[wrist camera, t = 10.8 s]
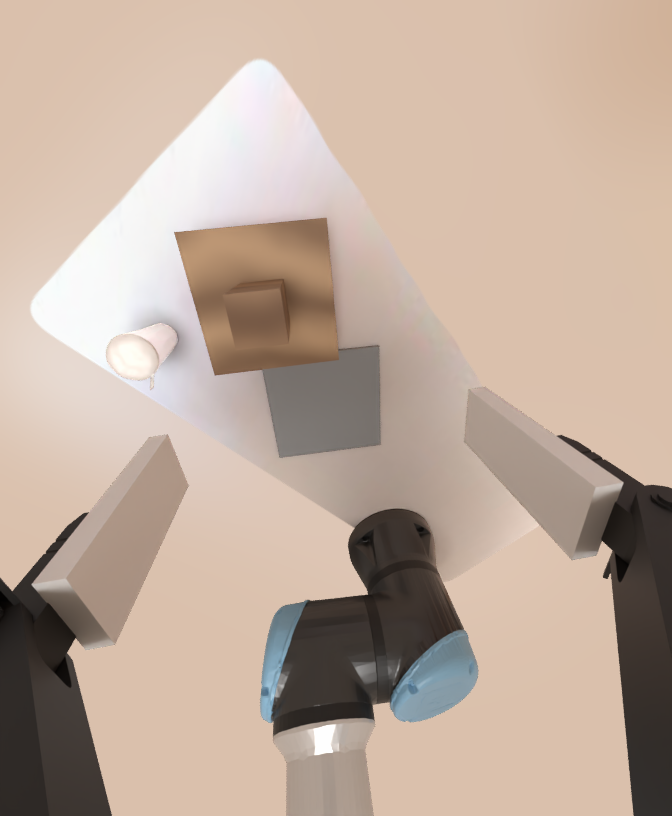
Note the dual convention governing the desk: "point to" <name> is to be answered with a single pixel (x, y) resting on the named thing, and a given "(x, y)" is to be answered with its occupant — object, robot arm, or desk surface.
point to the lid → (262, 294)
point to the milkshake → (141, 351)
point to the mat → (326, 403)
